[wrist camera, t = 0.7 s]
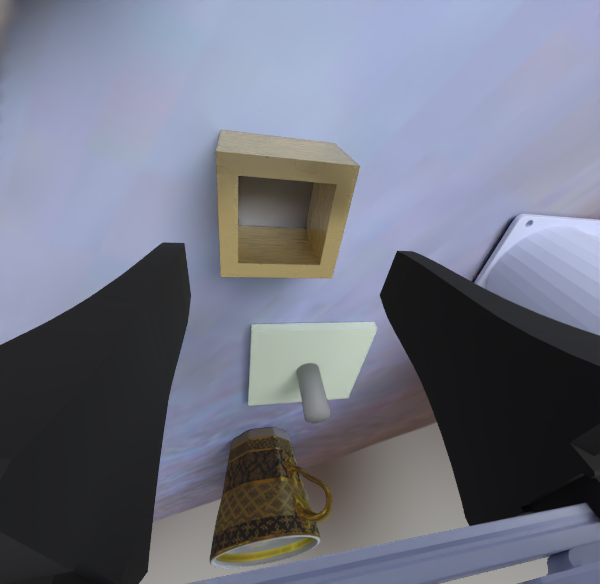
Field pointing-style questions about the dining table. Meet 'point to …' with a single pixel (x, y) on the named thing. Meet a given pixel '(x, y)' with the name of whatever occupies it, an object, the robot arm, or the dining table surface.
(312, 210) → the wooden square frame
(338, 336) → the post plate
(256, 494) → the ceramic cup
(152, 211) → the dining table surface
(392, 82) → the dining table surface
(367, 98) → the dining table surface
